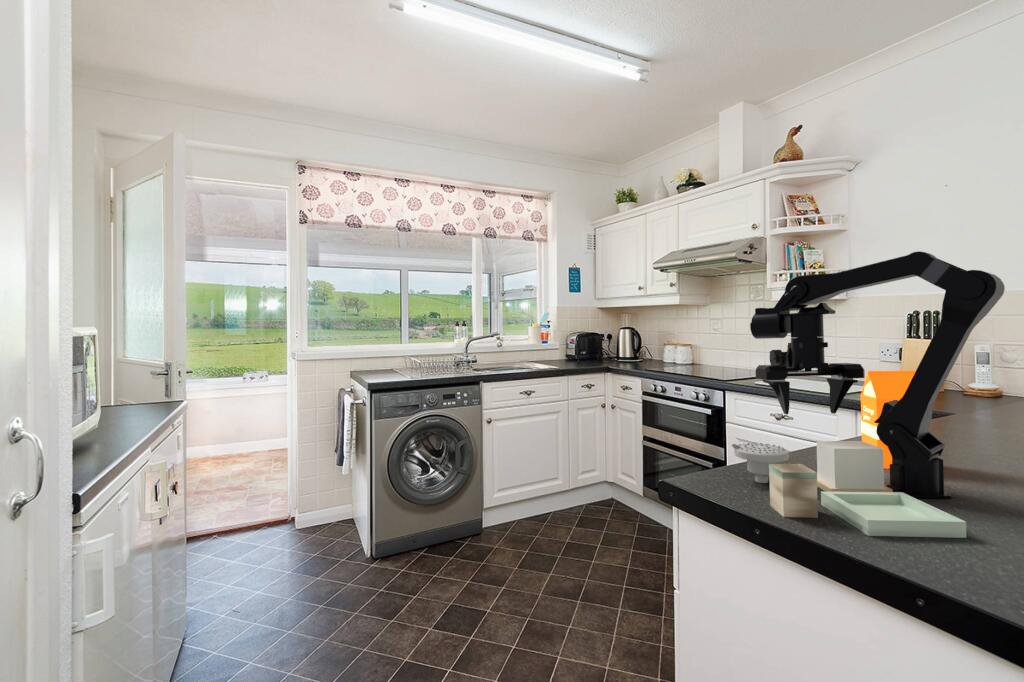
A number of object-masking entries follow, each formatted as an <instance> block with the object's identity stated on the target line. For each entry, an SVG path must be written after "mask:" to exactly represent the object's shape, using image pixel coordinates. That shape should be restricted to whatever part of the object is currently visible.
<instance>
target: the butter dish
mask: <svg viewBox="0 0 1024 682" xmlns="http://www.w3.org/2000/svg"><path fill="white" fill-rule="evenodd" d="M816 467H817V468H816V472H817V488H819V489H821V490H823V492H894V489H891V488H889V487H887V485H885V468H884V456H883V448H880V447H877V446H875V445H872V444H869V443H866V442H863V441H862V440H838V441H837V440H835V441H834V440H833V441H832V440H828V441H827V440H818V441H817V440H816Z"/></svg>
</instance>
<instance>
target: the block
mask: <svg viewBox="0 0 1024 682" xmlns="http://www.w3.org/2000/svg"><path fill="white" fill-rule="evenodd" d="M768 477H769V478H768V482H769V506H770V507H771V508H772V509H773V510H774V511H776V513H778V514H779V515H780V516H782V517H784V518H819V510H818V509H819V508H818V507H819V505H818V503H819V502H818V487H817V471H815V470H813V469H812V468H809V467H808V466H806V465H804V464H802V463H775V464H769V475H768Z"/></svg>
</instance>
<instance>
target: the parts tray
mask: <svg viewBox="0 0 1024 682" xmlns="http://www.w3.org/2000/svg"><path fill="white" fill-rule="evenodd" d="M820 504H821V506H822V507H824V508H825V509H827V510H829V511H830V512H831V513H833V514H834V515H836V516H838V517H839V518H840V519H842V520H844V521H845V522H847V523H848V524H849V525H851V526H853V527H854V528H856V529H857V530H859V532H862V533H863V534H864V535H866V536H868V537H869V536H870V537H904V538H905V537H911V538H912V537H913V538H914V537H915V538H955V539H958V538H959V539H962V538H963V539H964V538H965V539H967V521H965V520H963V519H961V518H959V517H957V516H954V515H953V514H951V513H949V512H946V511H943V510H941V509H939V508H937V507H935V506H933V505H931V504H929V503H926V502H924V501H922V500H920V499H917V498H914V497H911V496H909V495H907V494H905V493H903V492H898V491H895V492H894V491H893V492H826V491H824V490H823V491H820Z"/></svg>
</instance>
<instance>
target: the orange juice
mask: <svg viewBox="0 0 1024 682" xmlns="http://www.w3.org/2000/svg"><path fill="white" fill-rule="evenodd" d="M915 372H916V370H868V371H867V372H866V373H867V374H866V377H865V378H864V379H865V380H864V383H863V386H862V390H861V393H860V408H861V409H860V415H861V421H860V427H861V428H860V429H861V441H863V442H866V443H869V444H872V445H875V446H877V447H880V448H883V456H884V470H885V469H887V470H890V464H892V456H891V453H890V451H889V449H888V447H887V446H886V445H885V444H883V442H882V441H881V440H880V439H879V437H878V435H877V434H876V429H877V426H878V424H879V423H874V421H876V420H877V419H878V418H879V417H880V415H881V412H882V408H883V405H884V403H885V402H889V401H892V400H898V401H899V400H900V399H901V398H902V397H903V395H904V394H905V392H906V390H907V388H908V386H909V384H910V382H911V380H912V378H913V376H914V374H915Z"/></svg>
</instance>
